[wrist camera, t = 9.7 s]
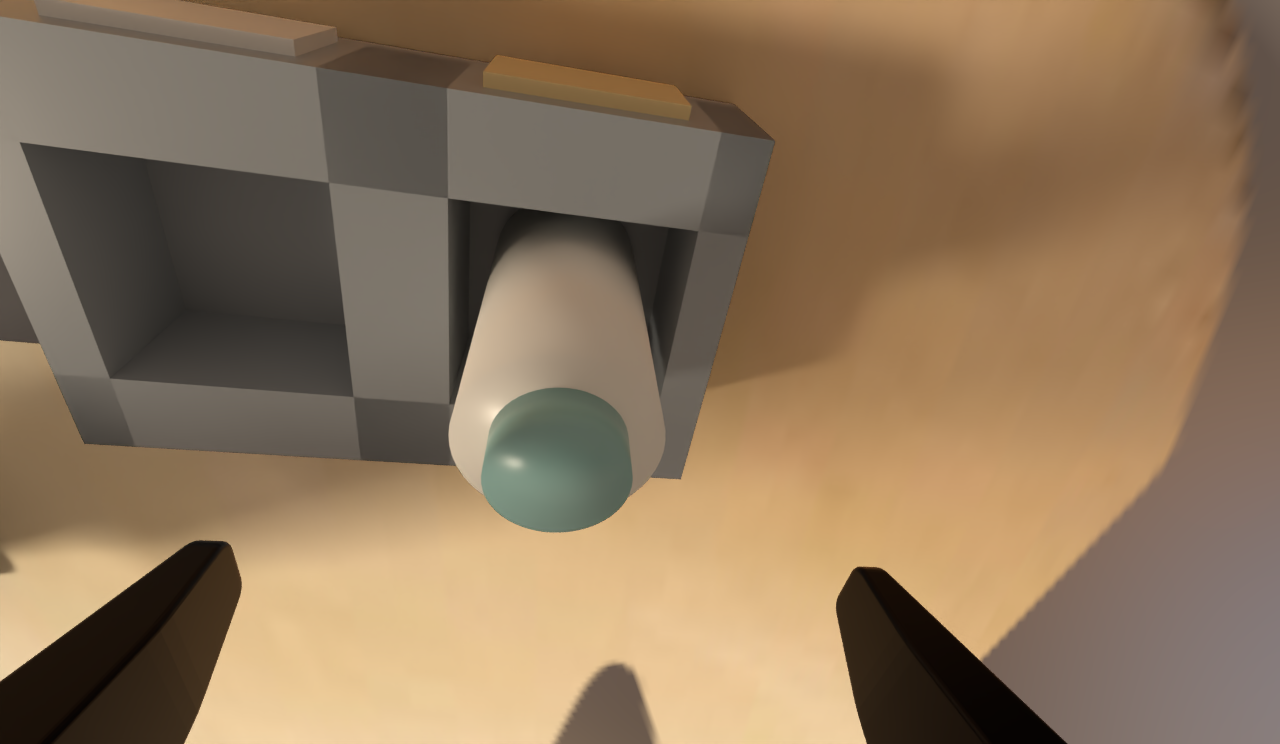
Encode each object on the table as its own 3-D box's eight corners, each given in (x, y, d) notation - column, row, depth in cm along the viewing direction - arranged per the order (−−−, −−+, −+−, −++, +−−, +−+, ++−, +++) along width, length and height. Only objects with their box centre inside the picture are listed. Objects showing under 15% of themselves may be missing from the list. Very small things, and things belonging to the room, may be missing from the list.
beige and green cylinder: (493, 313, 19) (440, 552, 11) (499, 185, 16) (436, 378, 9) (622, 327, 19) (650, 560, 12) (643, 206, 17) (695, 400, 10)
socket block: (168, 359, 19) (84, 443, 16) (48, -27, 13) (-123, -23, 10) (664, 400, 22) (680, 479, 18) (737, 92, 16) (779, 126, 13)
